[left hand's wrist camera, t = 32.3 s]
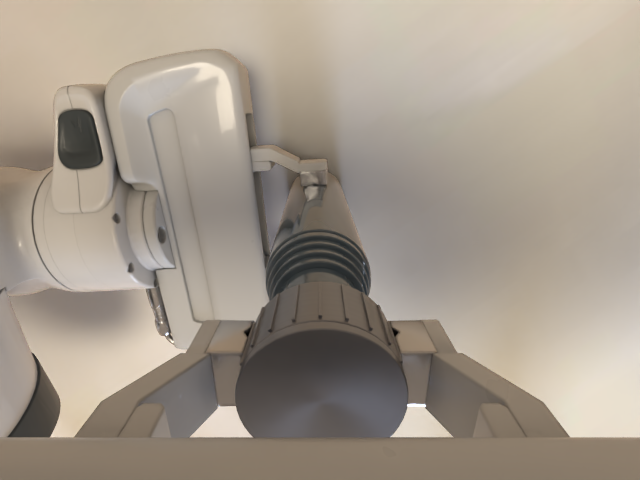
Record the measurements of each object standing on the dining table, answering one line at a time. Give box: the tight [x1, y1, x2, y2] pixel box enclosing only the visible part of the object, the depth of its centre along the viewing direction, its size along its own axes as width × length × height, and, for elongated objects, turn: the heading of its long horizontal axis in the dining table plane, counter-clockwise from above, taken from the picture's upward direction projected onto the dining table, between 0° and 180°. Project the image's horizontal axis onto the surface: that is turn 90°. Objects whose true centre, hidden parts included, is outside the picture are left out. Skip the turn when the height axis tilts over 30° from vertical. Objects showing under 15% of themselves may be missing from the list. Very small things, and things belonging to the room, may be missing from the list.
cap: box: [235, 281, 409, 438], centre depth 9 cm, size 4×4×2 cm
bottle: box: [266, 172, 371, 301], centre depth 19 cm, size 4×4×20 cm
